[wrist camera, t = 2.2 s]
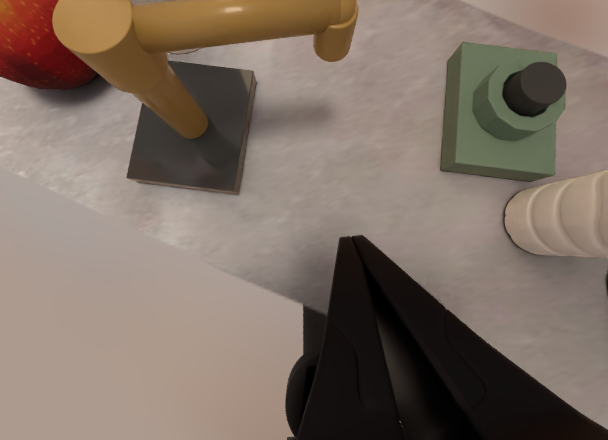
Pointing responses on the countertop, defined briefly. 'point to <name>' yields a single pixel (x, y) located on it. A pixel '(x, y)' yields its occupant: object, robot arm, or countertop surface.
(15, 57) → the fruit
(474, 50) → the green button mount
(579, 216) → the water bottle
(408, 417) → the robot arm
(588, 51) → the countertop surface
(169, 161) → the tap base
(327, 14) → the spout
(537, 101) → the dark round button
